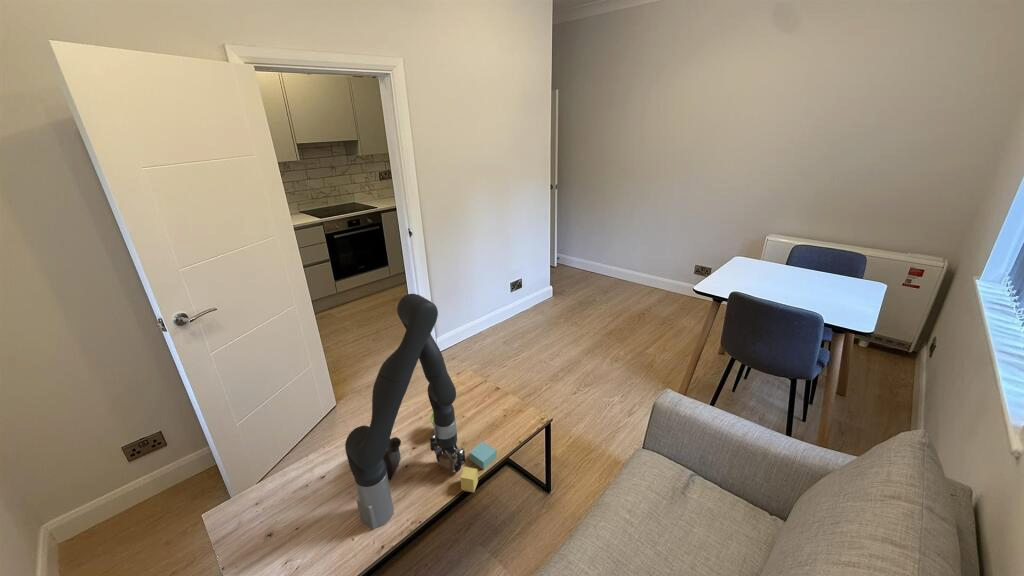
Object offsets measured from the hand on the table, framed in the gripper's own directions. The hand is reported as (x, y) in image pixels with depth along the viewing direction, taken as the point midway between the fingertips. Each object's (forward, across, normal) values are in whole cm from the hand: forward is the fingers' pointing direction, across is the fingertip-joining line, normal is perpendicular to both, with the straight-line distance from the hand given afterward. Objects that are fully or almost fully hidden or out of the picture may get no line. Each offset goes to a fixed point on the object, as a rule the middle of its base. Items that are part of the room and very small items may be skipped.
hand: (448, 465), depth 147 cm
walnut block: (+1, 0, 0) cm, 1 cm away
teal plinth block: (+2, +8, +10) cm, 13 cm away
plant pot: (+1, -13, +12) cm, 18 cm away
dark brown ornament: (+2, -18, -12) cm, 22 cm away
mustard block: (+1, +11, -2) cm, 11 cm away
